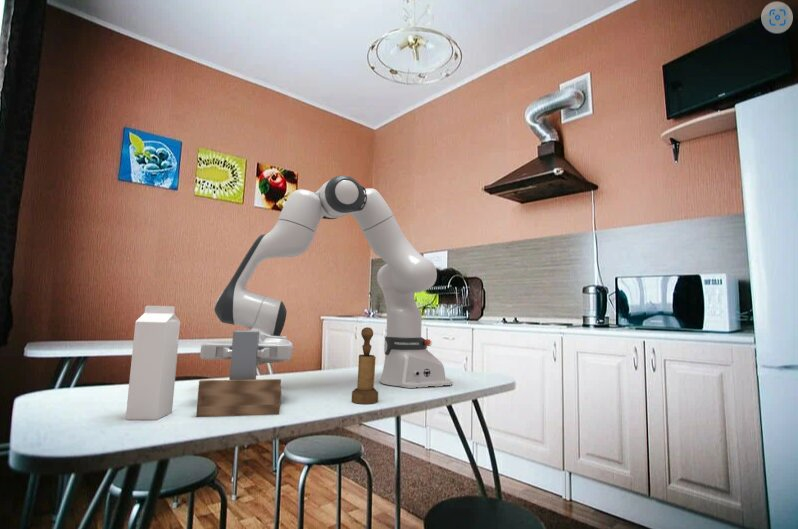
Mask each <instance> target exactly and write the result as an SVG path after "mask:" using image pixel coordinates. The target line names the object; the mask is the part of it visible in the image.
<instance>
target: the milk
mask: <svg viewBox="0 0 798 529" xmlns="http://www.w3.org/2000/svg"><path fill="white" fill-rule="evenodd" d="M175 309H176V307H175V306H172V305H146V306H145V307H144V313H143V314H141V316H140V317H138V318H137V320H135V321H134V322H135V325H134V331H133V332H134V334H133V341H132V342H133V343H132V351H131V352H132V353H131V363H130V364H131V365H130V371H129V372H130V374H129V382H128V392H127V402H126V412H125V413H126V414H125V420H128V421H131V420H132V421H135V420H136V421H140V420H142V421H157V420H160V419H162V418H164V417H165V416H166V417H167V416H168V415H170V414H172V413H173V406H174V396H175V395H174V394H175V384H176V373H177V372H176V371H177V362H178V361H177V360H178V349H179V339H180V338H179V336H180V328H181V327H180V326H181V321H180V319H179V318H178V316H176V314H175Z"/></svg>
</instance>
